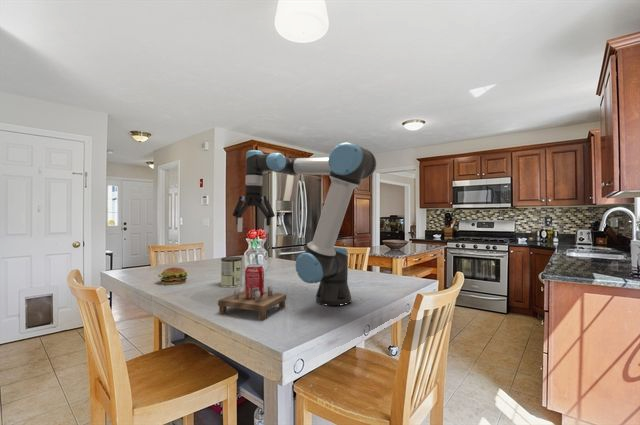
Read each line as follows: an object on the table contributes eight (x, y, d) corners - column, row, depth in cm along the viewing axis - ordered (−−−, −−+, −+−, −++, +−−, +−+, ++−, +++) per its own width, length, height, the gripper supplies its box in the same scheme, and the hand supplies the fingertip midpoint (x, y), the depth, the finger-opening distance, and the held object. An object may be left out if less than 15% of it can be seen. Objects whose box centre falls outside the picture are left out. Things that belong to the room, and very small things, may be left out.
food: (157, 281, 166) (157, 266, 166) (185, 279, 173) (186, 265, 173) (157, 286, 154) (158, 270, 154) (188, 284, 161) (188, 268, 161)
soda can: (257, 293, 122) (257, 263, 122) (267, 297, 117) (267, 265, 117) (241, 296, 117) (241, 265, 117) (251, 300, 112) (251, 267, 112)
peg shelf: (286, 307, 121) (286, 285, 122) (263, 320, 105) (263, 295, 106) (245, 302, 128) (245, 281, 128) (218, 313, 112) (218, 290, 112)
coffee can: (225, 282, 164) (226, 256, 165) (244, 283, 163) (244, 256, 164) (217, 287, 154) (217, 259, 154) (237, 288, 153) (237, 259, 153)
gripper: (282, 185, 139) (281, 233, 139) (235, 186, 147) (234, 231, 147) (275, 184, 132) (273, 233, 132) (225, 184, 140) (224, 231, 140)
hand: (252, 232), depth 139 cm, fingers open, 13 cm apart
